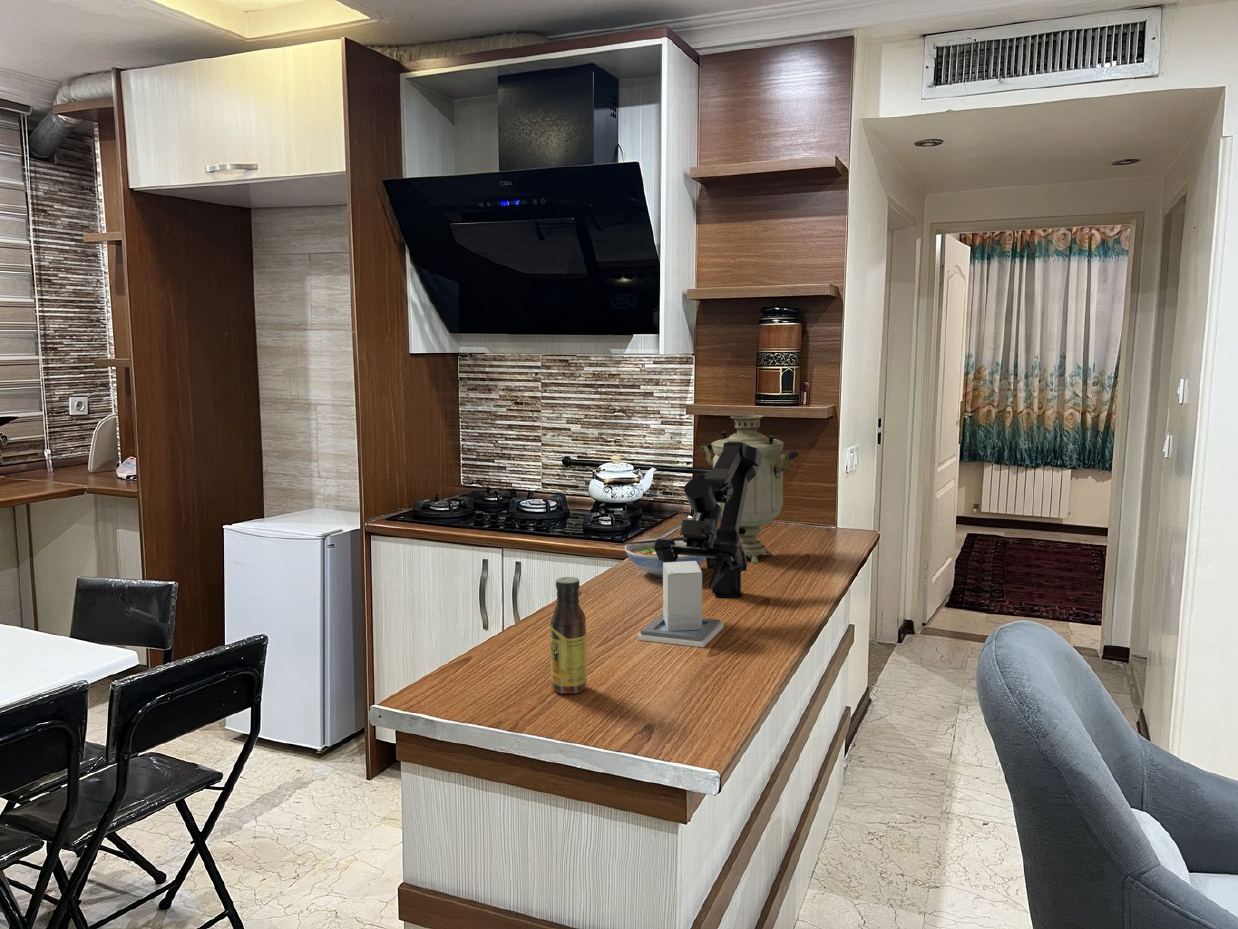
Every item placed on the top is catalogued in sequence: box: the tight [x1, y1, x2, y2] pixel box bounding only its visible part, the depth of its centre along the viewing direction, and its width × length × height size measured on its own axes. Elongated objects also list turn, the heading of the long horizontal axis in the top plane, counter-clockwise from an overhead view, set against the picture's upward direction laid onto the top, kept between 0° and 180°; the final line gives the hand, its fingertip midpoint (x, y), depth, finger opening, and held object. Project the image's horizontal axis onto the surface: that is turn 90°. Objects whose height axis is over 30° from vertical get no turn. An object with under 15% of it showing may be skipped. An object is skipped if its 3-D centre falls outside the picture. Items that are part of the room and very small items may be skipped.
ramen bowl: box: [614, 536, 706, 578], centre depth 243 cm, size 25×23×8 cm
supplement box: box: [662, 561, 703, 631], centre depth 193 cm, size 7×7×13 cm
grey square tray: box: [637, 613, 724, 648], centre depth 193 cm, size 14×14×2 cm
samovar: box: [699, 414, 800, 564], centre depth 261 cm, size 30×26×40 cm
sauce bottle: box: [549, 576, 588, 695], centre depth 161 cm, size 7×6×20 cm
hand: (689, 586), depth 197 cm, fingers open, 9 cm apart
